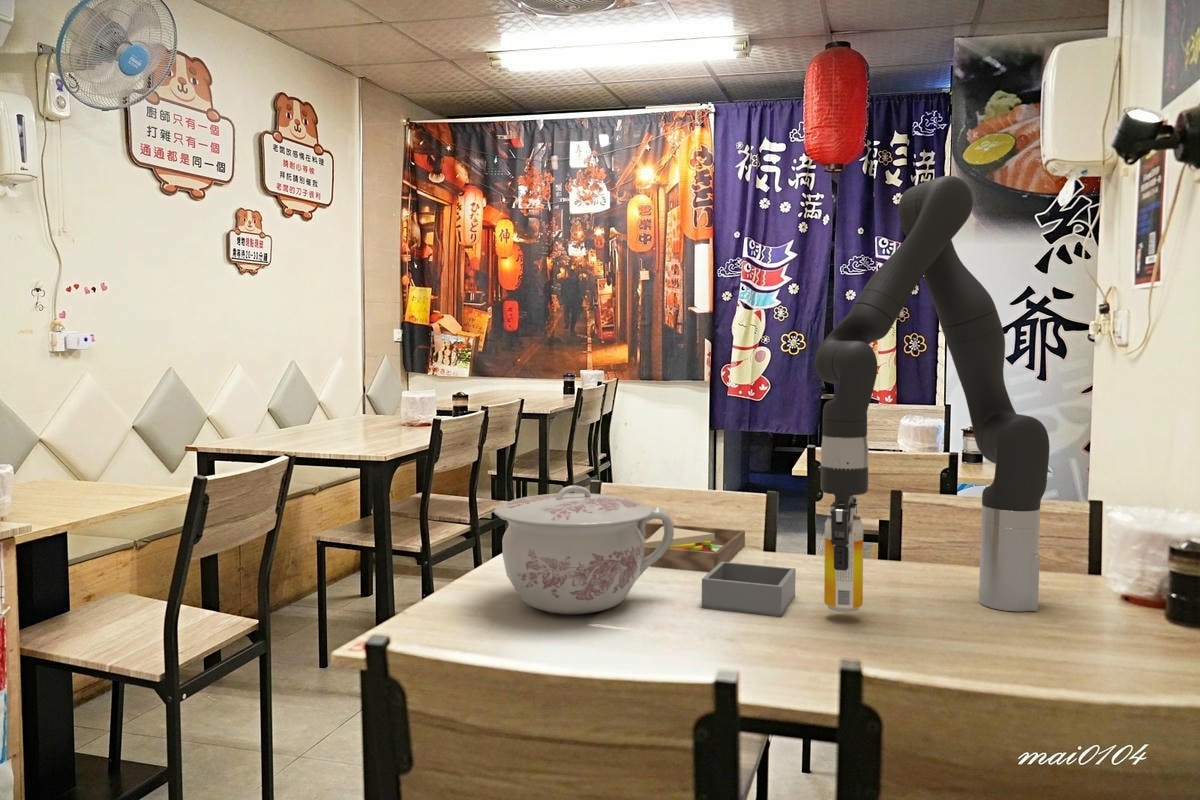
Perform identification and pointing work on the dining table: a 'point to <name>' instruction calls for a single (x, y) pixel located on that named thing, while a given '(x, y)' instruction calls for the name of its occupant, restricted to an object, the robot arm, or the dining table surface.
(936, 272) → the robot arm
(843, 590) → the beer can
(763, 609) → the box
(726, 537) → the serving board rim
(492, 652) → the dining table surface
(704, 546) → the sandwich
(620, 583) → the chamber pot
